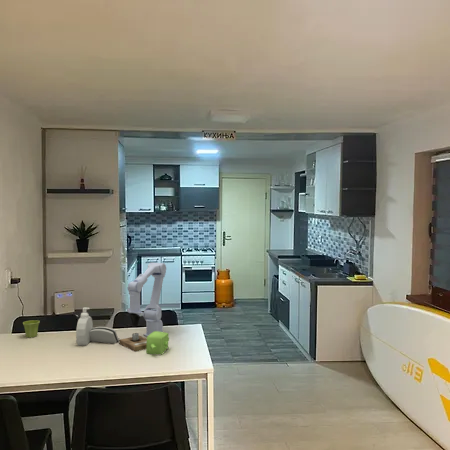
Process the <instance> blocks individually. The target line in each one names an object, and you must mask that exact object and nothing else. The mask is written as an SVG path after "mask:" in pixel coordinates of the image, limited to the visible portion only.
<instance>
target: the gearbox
mask: <svg viewBox="0 0 450 450" xmlns="http://www.w3.org/2000/svg"><path fill="white" fill-rule="evenodd" d="M146 338H147V345H146V349H145V350H146V351H145V353H146V354H148V355H156V354H161V355H163V354H164V353H165V352H166V351H167V350H168V349H169V341H170V337H169V332H165V331H163V332H159V331H154V332H152V333H151V334H150V335H148V336H146ZM167 348H168V349H167ZM166 349H167V350H166ZM165 350H166V351H165ZM164 351H165V352H164ZM163 352H164V353H163ZM162 353H163V354H162Z"/></svg>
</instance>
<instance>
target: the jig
mask: <svg viewBox="0 0 450 450" xmlns="http://www.w3.org/2000/svg"><path fill="white" fill-rule="evenodd" d="M118 343H119V345H121V346H122V347H125V348H127V349H129V350H131V351H133V352H139V350H140V351H144V350H146V345H147V337H144V336H142V335H139V341H137V342H133V341H132V336H130V337H126V338H121V339H120V338H119V341H118ZM143 349H144V350H143Z"/></svg>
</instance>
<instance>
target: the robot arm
mask: <svg viewBox="0 0 450 450" xmlns="http://www.w3.org/2000/svg"><path fill="white" fill-rule="evenodd" d="M166 273H167V265H166V263H165V262H149V263H148V265H147V268H146V270H145V271H144V272H143V273H140V274H139V275H138V276H137V277H136V278H135V279H134V280H133V281H130V282H129V283H128V285H127V291H128V295H129V308H127V311H126V312H127V313H129V318H130V319H131V323H132V327H133V328H135V327H138V326H139V320H140V319H141V317H143V319H144V321H146V324H145V325H146V332H145V333H143V335H144V336H145V337H147V336H148V335H150V334H151V333H152V332H154V331H159V332H164V327H163V326H164V324H163V321H162V320H161V318H162V308H161V306H160V304H159V303H160V298H161V292H162V287H163V282H164V278H165V277H166ZM151 276H152V277H153V278H154V280H153V281H154V282H153V286H152V291H151V297H150V301H149V303H148V305H145V308H144V311H142V310H141V292H142V289H143V287H144V285H145V284H146V283H147V282H148V278H149V277H151Z"/></svg>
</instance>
